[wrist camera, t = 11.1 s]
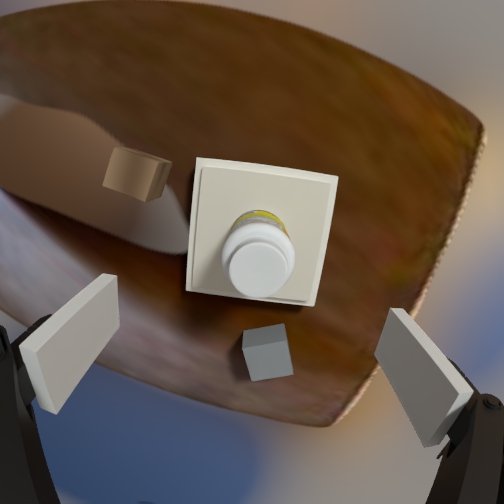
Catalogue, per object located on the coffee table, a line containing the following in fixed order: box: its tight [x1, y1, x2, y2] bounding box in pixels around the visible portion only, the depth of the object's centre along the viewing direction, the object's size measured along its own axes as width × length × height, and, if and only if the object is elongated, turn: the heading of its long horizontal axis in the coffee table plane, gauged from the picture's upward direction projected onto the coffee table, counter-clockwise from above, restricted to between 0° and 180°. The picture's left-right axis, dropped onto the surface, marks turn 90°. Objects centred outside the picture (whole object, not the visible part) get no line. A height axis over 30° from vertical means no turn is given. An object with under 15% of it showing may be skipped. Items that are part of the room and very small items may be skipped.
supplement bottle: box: [221, 210, 296, 298], centre depth 25 cm, size 6×6×10 cm
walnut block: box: [103, 147, 173, 202], centre depth 29 cm, size 5×4×5 cm
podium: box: [186, 158, 338, 306], centre depth 31 cm, size 14×14×3 cm
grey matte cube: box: [242, 324, 293, 381], centre depth 35 cm, size 5×5×4 cm
